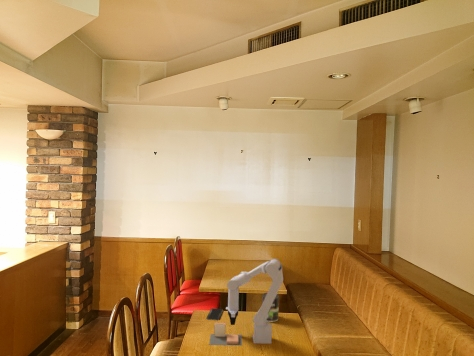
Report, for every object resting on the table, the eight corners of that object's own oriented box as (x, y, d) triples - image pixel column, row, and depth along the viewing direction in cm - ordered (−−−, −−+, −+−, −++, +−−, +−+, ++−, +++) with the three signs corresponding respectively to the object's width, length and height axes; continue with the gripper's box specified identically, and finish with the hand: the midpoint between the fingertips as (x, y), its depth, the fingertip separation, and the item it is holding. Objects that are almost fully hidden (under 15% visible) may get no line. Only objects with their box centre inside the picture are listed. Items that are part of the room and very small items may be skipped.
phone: (206, 318, 200) (211, 308, 215) (206, 320, 200) (211, 309, 215) (218, 319, 199) (223, 309, 214) (218, 321, 199) (223, 310, 214)
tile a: (238, 334, 180) (238, 341, 173) (238, 337, 180) (238, 344, 173) (227, 334, 180) (226, 341, 173) (227, 337, 180) (226, 343, 173)
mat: (241, 335, 182) (241, 334, 182) (242, 346, 171) (242, 345, 171) (210, 334, 182) (210, 334, 182) (209, 345, 171) (209, 344, 171)
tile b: (225, 335, 181) (225, 323, 181) (225, 336, 180) (225, 324, 179) (214, 335, 181) (214, 322, 181) (214, 336, 179) (214, 324, 179)
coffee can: (277, 323, 198) (277, 299, 197) (260, 320, 201) (260, 297, 200) (279, 316, 208) (280, 293, 207) (263, 313, 211) (264, 291, 210)
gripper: (226, 294, 190) (225, 318, 191) (225, 305, 176) (225, 330, 176) (238, 295, 190) (238, 318, 191) (239, 305, 176) (238, 330, 176)
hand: (232, 324), depth 183 cm, fingers closed
